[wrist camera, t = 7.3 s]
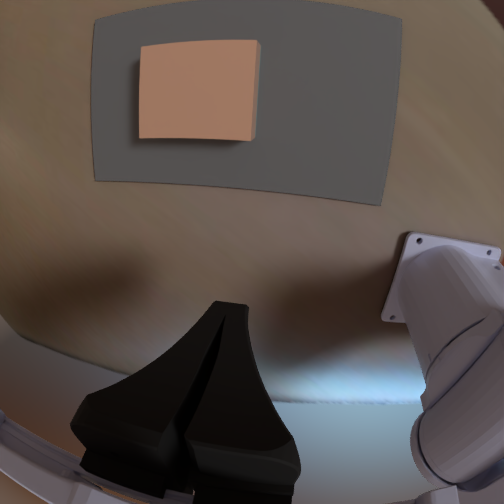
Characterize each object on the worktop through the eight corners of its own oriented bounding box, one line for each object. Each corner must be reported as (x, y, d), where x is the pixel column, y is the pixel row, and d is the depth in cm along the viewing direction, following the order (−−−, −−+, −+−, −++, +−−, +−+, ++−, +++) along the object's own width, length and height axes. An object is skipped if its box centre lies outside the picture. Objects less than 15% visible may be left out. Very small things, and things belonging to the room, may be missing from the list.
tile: (256, 39, 14) (141, 46, 14) (250, 141, 17) (139, 138, 17) (261, 46, 15) (155, 50, 16) (255, 137, 18) (152, 134, 19)
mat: (400, 19, 13) (401, 19, 13) (379, 204, 19) (380, 205, 19) (97, 20, 15) (95, 19, 15) (97, 179, 21) (95, 180, 21)
